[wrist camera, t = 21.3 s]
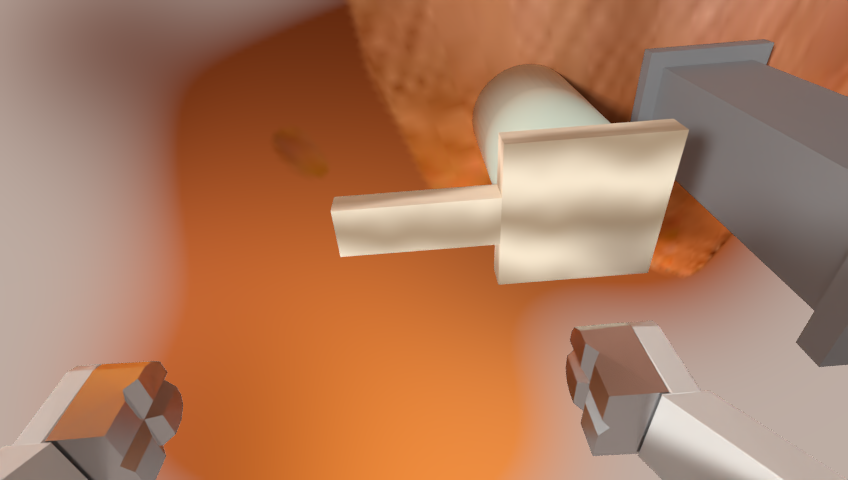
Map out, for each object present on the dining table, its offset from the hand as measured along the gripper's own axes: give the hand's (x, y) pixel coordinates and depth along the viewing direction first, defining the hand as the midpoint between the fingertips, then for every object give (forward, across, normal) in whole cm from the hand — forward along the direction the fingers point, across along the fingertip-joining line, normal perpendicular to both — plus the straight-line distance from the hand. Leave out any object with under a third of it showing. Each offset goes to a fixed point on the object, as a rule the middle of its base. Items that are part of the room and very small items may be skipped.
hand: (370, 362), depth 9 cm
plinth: (+41, -31, +11) cm, 53 cm away
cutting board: (+23, -7, +11) cm, 26 cm away
